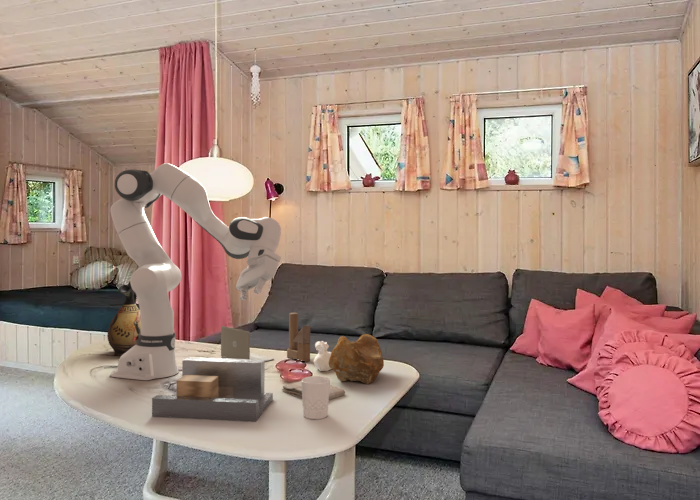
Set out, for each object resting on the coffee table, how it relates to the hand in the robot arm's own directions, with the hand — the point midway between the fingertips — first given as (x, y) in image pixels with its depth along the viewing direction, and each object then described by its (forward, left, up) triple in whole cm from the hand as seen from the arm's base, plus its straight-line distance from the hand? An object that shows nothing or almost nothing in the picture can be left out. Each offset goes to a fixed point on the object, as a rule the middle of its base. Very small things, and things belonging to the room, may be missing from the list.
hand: (249, 296), depth 181 cm
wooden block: (+10, +36, -29) cm, 47 cm away
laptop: (-10, +34, -30) cm, 46 cm away
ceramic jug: (-60, +36, -29) cm, 76 cm away
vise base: (-3, -25, -29) cm, 38 cm away
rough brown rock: (+37, +11, -30) cm, 48 cm away
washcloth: (+23, -7, -30) cm, 38 cm away
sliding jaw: (-3, -18, -29) cm, 34 cm away
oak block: (-7, -27, -29) cm, 40 cm away
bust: (+22, +23, -29) cm, 43 cm away
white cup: (+27, -27, -29) cm, 48 cm away
